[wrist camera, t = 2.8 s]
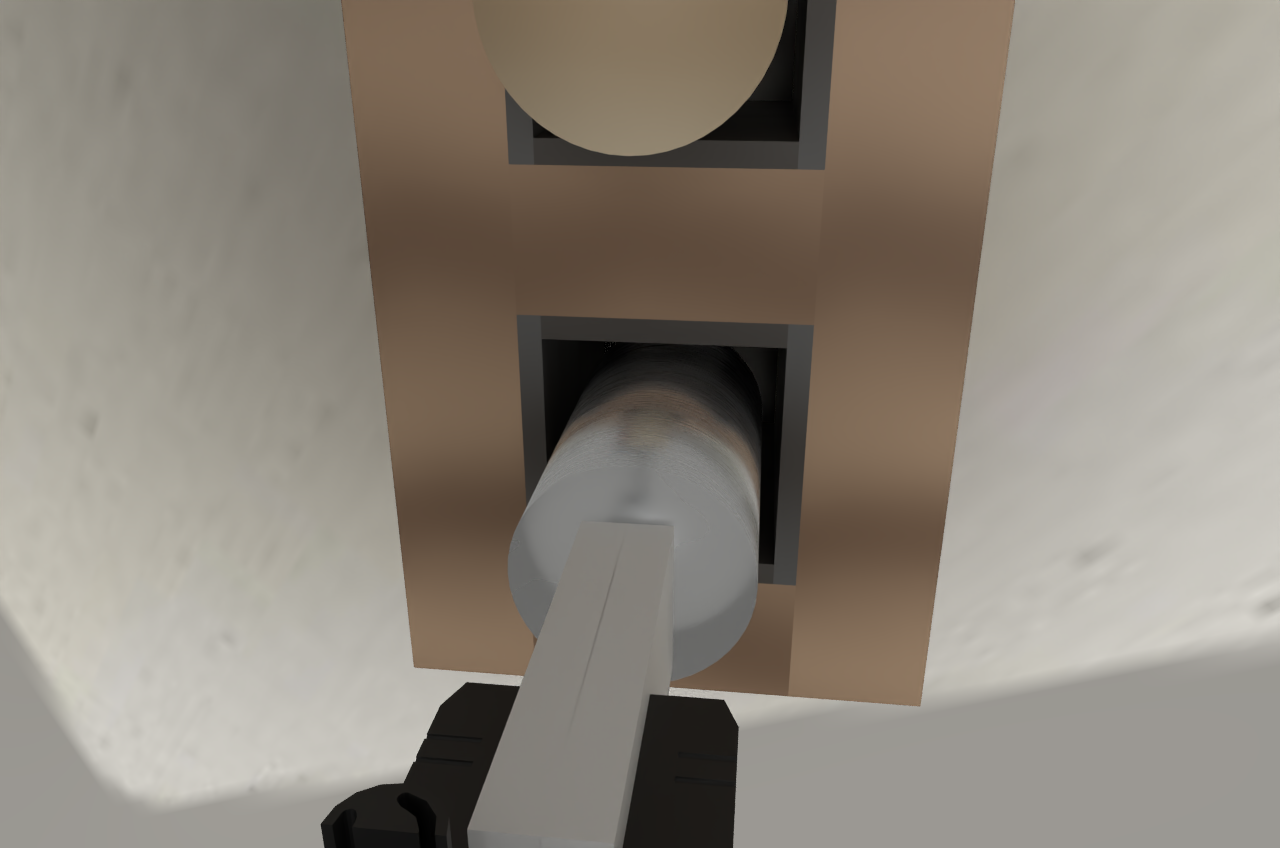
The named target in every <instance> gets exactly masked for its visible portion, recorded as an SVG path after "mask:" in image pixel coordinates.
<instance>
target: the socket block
mask: <svg viewBox="0 0 1280 848" xmlns="http://www.w3.org/2000/svg"><path fill="white" fill-rule="evenodd" d="M341 3H342V12H343V21H344V30H345V39H346V49H347V58H348V67H349V76H350V85H351V94H352V104H353V113H354V122H355V131H356V140H357V149H358V158H359V168H360V177H361V186H362V195H363V204H364V213H365V223H366V232H367V241H368V250H369V259H370V268H371V277H372V287H373V296H374V305H375V314H376V323H377V332H378V342H379V351H380V360H381V369H382V378H383V387H384V396H385V406H386V415H387V424H388V433H389V442H390V451H391V461H392V470H393V479H394V488H395V497H396V506H397V516H398V525H399V534H400V543H401V552H402V561H403V570H404V580H405V589H406V598H407V607H408V616H409V625H410V635H411V644H412V653H413V662H414V667H415V668H428V669H441V670H454V671H467V672H480V673H493V674H506V675H519V676H524V675H525V672H526V669H527V667H528V664H529V661H530V659H531V656H532V653H533V651H534V648H535V645H536V643H537V640H538V639H537V638H536V637H535V636H534V635H533V633H532V632H531V631H530V629H529V628H528V627H527V626H526V624H525V622H524V621H523V619H522V617H521V616H520V614H519V612H518V610H517V607H516V605H515V603H514V600H513V597H512V593H511V590H510V586H509V579H508V555H509V549H510V544H511V541H512V538H513V535H514V532H515V530H516V527H517V525H518V523H519V521H520V519H521V517H522V515H523V513H524V511H525V509H526V507H527V505H528V503H529V501H530V499H531V497H532V495H533V493H534V491H535V489H536V486H537V484H538V482H539V480H540V478H541V476H542V474H543V472H544V470H545V468H546V466H547V464H548V462H549V460H550V458H551V456H552V454H553V452H554V450H555V448H556V445H557V443H558V441H559V439H560V437H561V435H562V433H563V431H564V429H565V427H566V425H567V423H568V421H569V419H570V417H571V415H572V413H573V411H574V409H575V407H576V404H577V402H578V400H579V398H580V396H581V394H582V392H583V390H584V388H585V386H586V384H587V382H588V380H589V378H590V376H591V374H592V372H593V370H594V368H595V366H596V364H597V363H598V362H599V360H600V359H601V357H602V356H603V355H604V341H610V342H636V343H663V344H689V345H716V346H742V347H769V348H778V362H777V380H776V398H775V416H774V423H762V447H761V483H760V520H759V557H758V590H757V598H756V604H755V607H754V611H753V614H752V617H751V619H750V622H749V624H748V626H747V628H746V630H745V631H744V633H743V634H742V636H741V637H740V639H739V640H738V642H737V643H736V644H735V645H734V646H733V647H732V648H731V650H730V651H729V652H728V653H726V654H725V655H724V656H723V657H722V658H720V659H719V660H718V661H717V662H715V663H714V664H712V665H710V666H709V667H707V668H706V669H704V670H702V671H699V672H697V673H695V674H693V675H691V676H688V677H685V678H681V679H678V680H674V681H670V686H669V687H675V688H688V689H701V690H714V691H727V692H740V693H753V694H766V695H779V696H792V697H805V698H818V699H831V700H844V701H857V702H870V703H883V704H896V705H909V706H920V704H921V697H922V690H923V682H924V675H925V667H926V660H927V652H928V645H929V637H930V630H931V623H932V615H933V608H934V600H935V593H936V585H937V578H938V570H939V563H940V556H941V548H942V541H943V533H944V526H945V518H946V511H947V503H948V496H949V488H950V481H951V474H952V466H953V459H954V451H955V444H956V436H957V429H958V421H959V414H960V407H961V399H962V392H963V384H964V377H965V369H966V362H967V354H968V347H969V340H970V332H971V325H972V317H973V310H974V302H975V295H976V287H977V280H978V272H979V265H980V258H981V250H982V243H983V235H984V228H985V220H986V213H987V205H988V198H989V191H990V183H991V176H992V168H993V161H994V153H995V146H996V138H997V131H998V124H999V116H1000V109H1001V101H1002V94H1003V86H1004V79H1005V71H1006V64H1007V57H1008V49H1009V42H1010V34H1011V27H1012V19H1013V12H1014V4H1015V0H798V3H797V21H796V39H795V57H794V75H793V93H792V101H746V102H745V103H744V104H743V105H742V106H741V107H740V108H739V109H738V111H737V112H735V113H734V114H733V115H732V116H731V117H730V118H729V119H727V120H726V121H725V122H724V123H723V124H722V125H720V126H719V127H717V128H716V129H714V130H713V131H711V132H710V133H708V134H707V135H705V136H704V137H702V138H700V139H698V140H696V141H694V142H692V143H690V144H687V145H685V146H682V147H679V148H676V149H673V150H670V151H667V152H662V153H657V154H651V155H641V156H621V155H609V154H604V153H600V152H595V151H591V150H588V149H585V148H582V147H580V146H577V145H574V144H571V143H570V142H568V141H566V140H564V139H562V138H560V137H558V136H556V135H554V134H553V133H551V132H550V131H548V130H547V129H546V128H544V127H543V126H541V125H540V124H538V123H537V122H536V121H535V120H534V119H533V118H532V117H530V116H529V115H528V114H527V113H526V112H525V111H524V110H523V109H522V108H521V107H520V106H519V105H518V104H517V102H516V101H515V100H514V99H513V98H512V97H511V95H510V94H509V93H508V92H507V90H506V89H505V87H504V86H503V84H502V83H501V81H500V80H499V78H498V77H497V75H496V73H495V71H494V69H493V67H492V65H491V63H490V61H489V59H488V57H487V55H486V52H485V49H484V47H483V44H482V41H481V39H480V36H479V31H478V27H477V23H476V19H475V15H474V7H473V0H341Z"/></svg>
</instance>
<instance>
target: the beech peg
mask: <svg viewBox="0 0 1280 848" xmlns="http://www.w3.org/2000/svg"><path fill="white" fill-rule="evenodd" d="M787 4H788V0H473V7H474V15H475V19H476V23H477V27H478V31H479V36H480V39H481V41H482V44H483V47H484V49H485V52H486V55H487V57H488V59H489V61H490V63H491V65H492V67H493V69H494V71H495V73H496V75H497V77H498V78H499V80H500V81H501V83H502V84H503V86H504V87H505V89H506V90H507V92H508V93H509V94H510V95H511V97H512V98H513V99H514V100H515V101H516V102H517V104H518V105H519V106H520V107H521V108H522V109H523V110H524V111H525V112H526V113H527V114H528V115H529V116H530V117H532V118H533V119H534V120H535V121H536V122H537V123H538V124H540V125H541V126H543V127H544V128H546V129H547V130H548V131H550V132H551V133H553V134H554V135H556V136H558V137H560V138H562V139H564V140H566V141H568V142H570V143H571V144H574V145H577V146H580V147H582V148H585V149H588V150H591V151H595V152H600V153H604V154H609V155H621V156H641V155H651V154H657V153H662V152H667V151H670V150H673V149H676V148H679V147H682V146H685V145H687V144H690V143H692V142H694V141H696V140H698V139H700V138H702V137H704V136H705V135H707V134H708V133H710V132H711V131H713V130H714V129H716V128H717V127H719V126H720V125H722V124H723V123H724V122H725V121H726V120H727V119H729V118H730V117H731V116H732V115H733V114H734V113H735V112H737V111H738V109H739V108H740V107H741V106H742V105H743V104H744V103H745V102H746V100H747V99H748V98H749V97H750V96H751V95H752V93H753V92H754V90H755V89H756V87H757V86H758V84H759V83H760V81H761V80H762V78H763V77H764V75H765V73H766V71H767V69H768V67H769V65H770V63H771V61H772V59H773V57H774V55H775V52H776V49H777V46H778V44H779V41H780V38H781V35H782V31H783V27H784V22H785V18H786V13H787Z"/></svg>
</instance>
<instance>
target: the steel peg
mask: <svg viewBox="0 0 1280 848" xmlns="http://www.w3.org/2000/svg"><path fill="white" fill-rule="evenodd" d="M761 447H762V400H761V394H760V391H759V387H758V384H757V382H756V379H755V377H754V375H753V373H752V371H751V370H750V368H749V367H748V365H747V364H746V362H745V361H744V360H743V359H742V358H741V356H740V355H739V354H738V353H737V352H736V351H735V350H733V349H732V348H731V347H730V346H716V345H689V344H663V343H636V342H617V343H616V344H615V345H613V346H612V347H611V348H610V349H609V350H608V351H607V352H606V353H605V354H604V355H603V356H602V357H601V359H600V360H599V362H598V363H597V364H596V366H595V368H594V370H593V372H592V374H591V376H590V378H589V380H588V382H587V384H586V386H585V388H584V390H583V392H582V394H581V396H580V398H579V400H578V402H577V404H576V407H575V409H574V411H573V413H572V415H571V417H570V419H569V421H568V423H567V425H566V427H565V429H564V431H563V433H562V435H561V437H560V439H559V441H558V443H557V445H556V448H555V450H554V452H553V454H552V456H551V458H550V460H549V462H548V464H547V466H546V468H545V470H544V472H543V474H542V476H541V478H540V480H539V482H538V484H537V486H536V489H535V491H534V493H533V495H532V497H531V499H530V501H529V503H528V505H527V507H526V509H525V511H524V513H523V515H522V517H521V519H520V521H519V523H518V525H517V527H516V530H515V532H514V535H513V538H512V541H511V544H510V549H509V555H508V579H509V586H510V590H511V593H512V597H513V600H514V603H515V605H516V607H517V610H518V612H519V614H520V616H521V617H522V619H523V621H524V622H525V624H526V626H527V627H528V628H529V629H530V631H531V632H532V633H533V635H534V636H535V637H536V638H537V639H538V637H539V634H540V632H541V629H542V626H543V624H544V621H545V618H546V616H547V613H548V610H549V608H550V605H551V602H552V599H553V597H554V594H555V591H556V589H557V586H558V583H559V581H560V578H561V575H562V573H563V570H564V567H565V564H566V562H567V559H568V556H569V554H570V551H571V548H572V546H573V543H574V540H575V538H576V535H577V532H578V529H579V527H580V524H581V521H595V522H613V523H630V524H647V525H664V526H674V588H673V659H672V673H671V680H670V681H674V680H678V679H681V678H685V677H688V676H691V675H693V674H695V673H697V672H699V671H702V670H704V669H706V668H707V667H709V666H710V665H712V664H714V663H715V662H717V661H718V660H719V659H720V658H722V657H723V656H724V655H725V654H726V653H728V652H729V651H730V650H731V648H732V647H733V646H734V645H735V644H736V643H737V642H738V640H739V639H740V637H741V636H742V634H743V633H744V631H745V630H746V628H747V626H748V624H749V622H750V619H751V617H752V614H753V611H754V607H755V604H756V598H757V590H758V557H759V520H760V483H761Z"/></svg>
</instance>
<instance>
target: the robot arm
mask: <svg viewBox="0 0 1280 848" xmlns="http://www.w3.org/2000/svg"><path fill="white" fill-rule="evenodd" d="M673 588H674V526H664V525H647V524H630V523H613V522H595V521H581V524H580V527H579V529H578V532H577V535H576V538H575V540H574V543H573V546H572V548H571V551H570V554H569V556H568V559H567V562H566V564H565V567H564V570H563V573H562V575H561V578H560V581H559V583H558V586H557V589H556V591H555V594H554V597H553V599H552V602H551V605H550V608H549V610H548V613H547V616H546V618H545V621H544V624H543V626H542V629H541V632H540V634H539V637H538V640H537V643H536V645H535V648H534V651H533V653H532V656H531V659H530V661H529V664H528V667H527V669H526V672H525V675H524V678H523V680H522V683H521V686H507V685H495V684H482V683H469V682H466V683H465V684H464V685H463V686H462V687H461V688H460V689H459V690H457V691H456V692H455V693H454V694H453V695H452V696H451V697H449V698H448V699H447V700H446V701H445V702H444V703H443V704H442V705H440V707H439V710H438V712H437V714H436V716H435V718H434V720H433V722H432V724H431V726H430V728H429V731H428V733H427V739H424V741H423V743H422V745H421V747H420V750H419V752H418V754H417V756H416V762H413V764H412V766H411V768H410V771H409V773H408V775H407V777H406V779H405V781H404V783H402V784H383V785H378V786H375V787H372V788H369V789H366V790H363V791H360V792H356V793H355V794H354V795H352V796H350V797H349V798H347V799H346V800H344V801H343V802H341V803H340V804H338V805H337V806H335V807H334V808H333V810H332V811H331V812H330V813H329V815H328V816H327V817H326V818H325V819H324V821H323V822H322V823H321V829H322V835H323V841H324V847H325V848H733V835H734V833H733V832H734V814H735V792H736V771H737V750H738V729H739V727H738V725H737V723H736V721H735V719H734V718H733V716H732V714H731V712H730V710H729V708H728V706H727V704H726V702H725V701H724V700H719V699H706V698H693V697H680V696H668V693H669V686H670V680H671V673H672V659H673Z"/></svg>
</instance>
